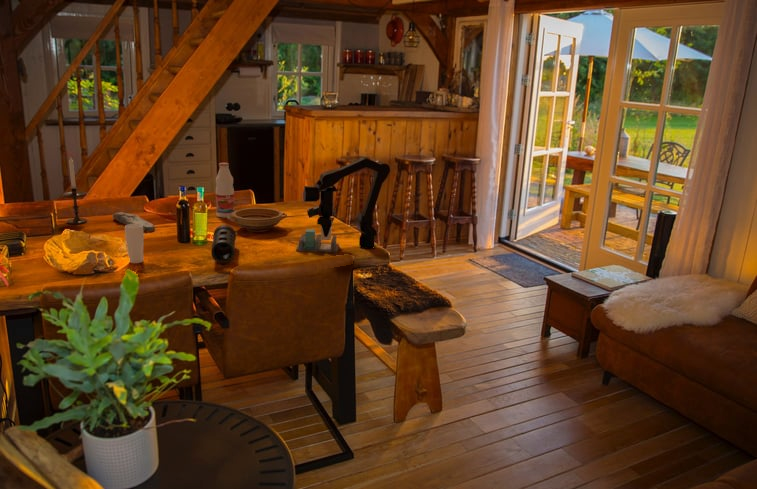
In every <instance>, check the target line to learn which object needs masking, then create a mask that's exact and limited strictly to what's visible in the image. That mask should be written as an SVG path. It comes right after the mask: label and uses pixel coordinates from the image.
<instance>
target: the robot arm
mask: <svg viewBox="0 0 757 489" xmlns="http://www.w3.org/2000/svg"><path fill="white" fill-rule="evenodd" d="M366 168H368V169H370V170H372V182H371V185H370V189H369V191H368V194H367V198H366V201H365V204H364V208H363V209H362V211H361V212H357V214H356V219H355V224H356V227H357V228H358V229H359V231H360V235H359V248H360V249H369V248H373V247H374V245H375V246H376V244H375V241H376V238H375V236H377V233H378V231H377V230H376V229H375V228H374V227H373V223H374V211H375V208H376V205H377V202H378V199H379V196H380V192H381V189H382V186H383V183H385V181H386V180H387V178H388V176H389V174H390V173H391V167H390V165H389V164H387V163H385V162H383V161H374V160H372V159H369V158H368V157H366V156H362V157H361V158H359V159H356V160H355V161H353V162H350V163H348V164H346V165H344V166H342V167H339V168H337V169H331V170H327V171H323V172H322V173H320V175H319V179H318V180H317V181H316V183H315V184H314V185H313V186H309V185H304V186H303V191H302V201H303V202H304V203H314V202H315V203H317V202H318V201H320V202H319V204H318V206H314V207H310V208H308V209H307V210H306V213H307V216H308V218H309V219H310V218H313V217H315V216H318V218H317V220H316V225H320V226H322V228H323V233H324V237H327V235H328V233H329V231H330V228H331V229H332V225H333V223H334V220H335V217H336V210H335V209H334V192H339V189H338V188H337V187H336V186H335V185H336V184H337V183H339V181H341V180H342V179H343V178H346V177H348V176H350V175H352V174H354V173H356V172H358V171H360V170H362V169H363V170H364V169H366ZM374 248H375V247H374Z"/></svg>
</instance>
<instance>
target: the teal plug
mask: <svg viewBox="0 0 757 489" xmlns="http://www.w3.org/2000/svg"><path fill="white" fill-rule="evenodd" d="M304 232H305V233H304V234H305V247H315V240H316V229H313V228H312V229H311V228H310V229H309V228H308V229H306V230H305V231H304Z"/></svg>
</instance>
